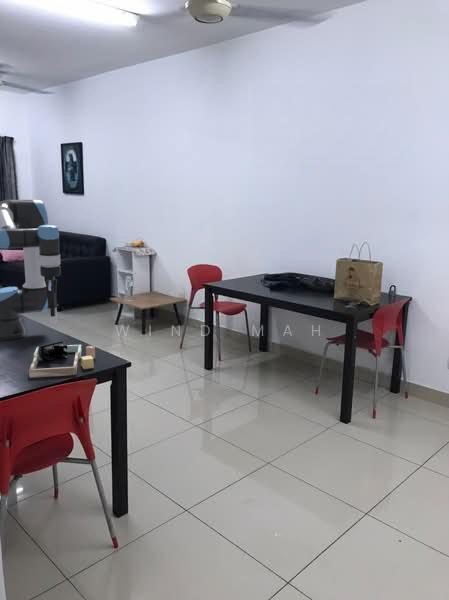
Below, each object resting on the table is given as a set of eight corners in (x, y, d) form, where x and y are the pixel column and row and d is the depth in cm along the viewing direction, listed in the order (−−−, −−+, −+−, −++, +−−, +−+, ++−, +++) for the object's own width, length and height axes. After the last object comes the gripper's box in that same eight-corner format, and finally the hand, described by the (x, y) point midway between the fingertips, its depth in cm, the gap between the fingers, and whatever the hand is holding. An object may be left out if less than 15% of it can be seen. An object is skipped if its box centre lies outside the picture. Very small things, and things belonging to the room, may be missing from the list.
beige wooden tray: (35, 361, 197) (35, 354, 196) (78, 359, 201) (78, 352, 201) (29, 377, 181) (28, 370, 180) (76, 374, 185) (75, 367, 184)
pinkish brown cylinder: (86, 357, 204) (86, 345, 203) (95, 356, 205) (94, 345, 204) (86, 359, 201) (85, 348, 200) (95, 359, 202) (94, 348, 200)
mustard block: (81, 366, 194) (81, 356, 193) (91, 364, 196) (90, 355, 195) (83, 369, 191) (83, 360, 190) (93, 367, 192) (93, 358, 192)
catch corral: (37, 353, 207) (36, 346, 206) (81, 350, 211) (81, 344, 211) (33, 361, 197) (33, 355, 196) (80, 359, 201) (80, 352, 201)
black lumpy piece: (60, 354, 207) (59, 339, 206) (68, 358, 203) (68, 343, 201) (38, 359, 200) (37, 344, 198) (47, 364, 195) (46, 348, 194)
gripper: (42, 262, 190) (45, 319, 196) (37, 268, 178) (41, 328, 184) (61, 262, 192) (64, 318, 198) (58, 268, 180) (62, 327, 186)
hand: (53, 323), depth 191 cm, fingers closed
